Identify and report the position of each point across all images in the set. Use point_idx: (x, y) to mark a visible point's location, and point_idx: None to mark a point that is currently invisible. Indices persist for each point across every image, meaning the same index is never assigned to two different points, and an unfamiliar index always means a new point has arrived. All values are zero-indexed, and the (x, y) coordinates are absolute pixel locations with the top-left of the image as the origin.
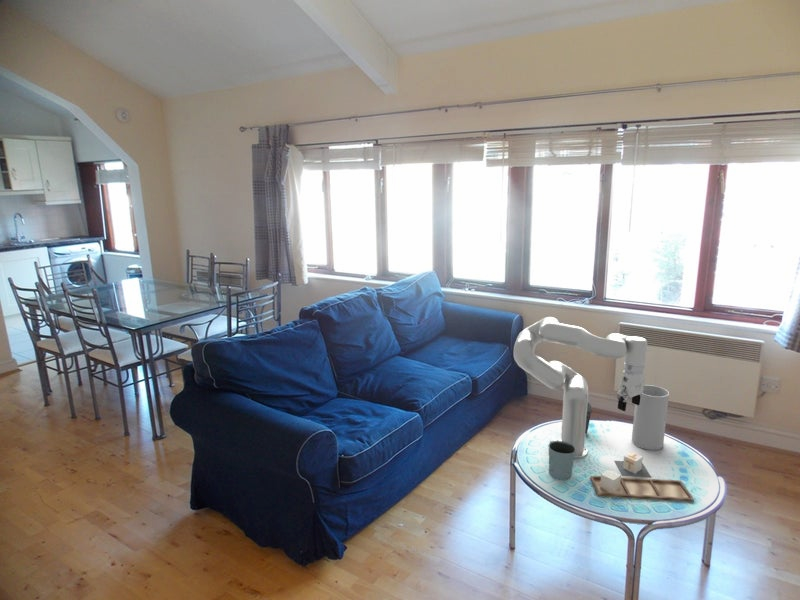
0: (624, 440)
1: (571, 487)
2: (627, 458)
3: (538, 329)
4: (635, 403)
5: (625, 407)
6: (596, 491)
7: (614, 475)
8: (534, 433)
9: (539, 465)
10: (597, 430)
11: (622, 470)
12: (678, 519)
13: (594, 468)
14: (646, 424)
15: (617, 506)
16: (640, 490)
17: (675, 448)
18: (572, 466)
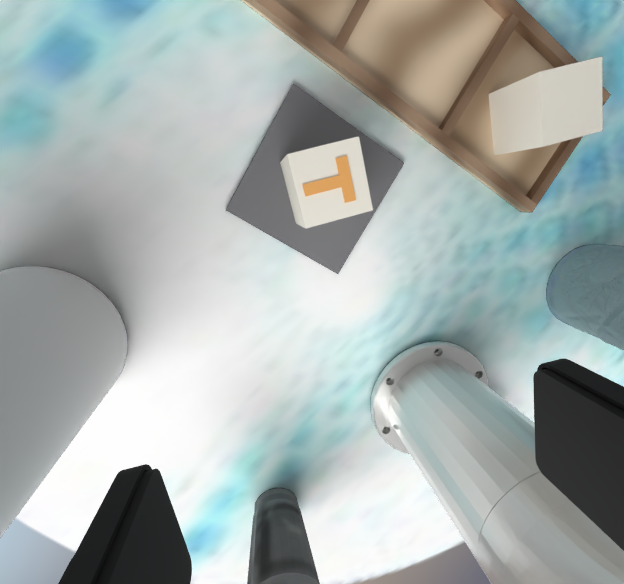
0: (146, 396)
1: (616, 198)
2: (366, 190)
3: None
4: (171, 520)
5: (620, 390)
6: None
7: (565, 87)
8: (448, 536)
9: (591, 358)
10: (202, 499)
11: None
12: None
13: (448, 264)
14: (31, 362)
15: (588, 5)
16: (428, 29)
17: None
18: (615, 257)
